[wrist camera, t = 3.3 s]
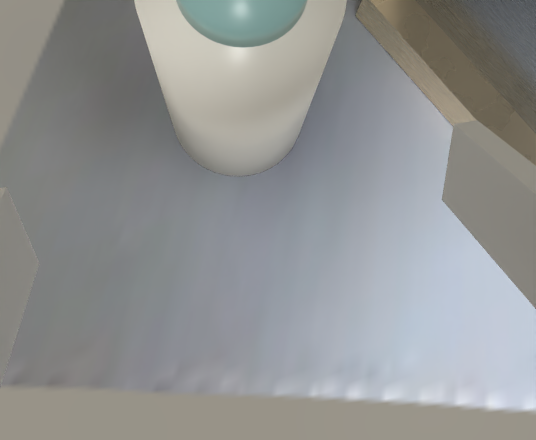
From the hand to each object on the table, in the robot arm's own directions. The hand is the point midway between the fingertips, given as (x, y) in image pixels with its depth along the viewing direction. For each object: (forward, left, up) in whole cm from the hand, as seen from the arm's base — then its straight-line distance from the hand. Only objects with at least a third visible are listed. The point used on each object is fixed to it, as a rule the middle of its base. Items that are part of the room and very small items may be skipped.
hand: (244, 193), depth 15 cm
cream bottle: (+5, -4, -11) cm, 13 cm away
